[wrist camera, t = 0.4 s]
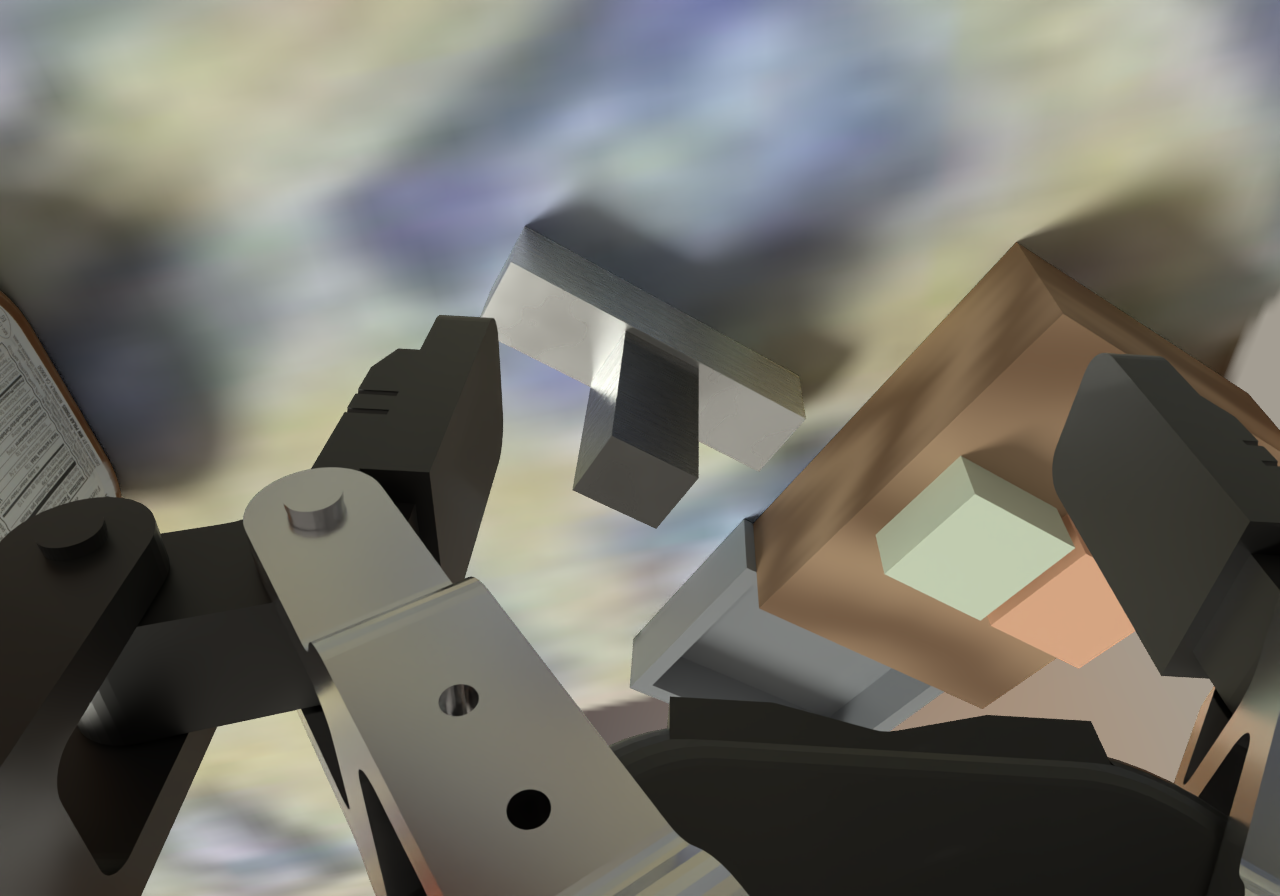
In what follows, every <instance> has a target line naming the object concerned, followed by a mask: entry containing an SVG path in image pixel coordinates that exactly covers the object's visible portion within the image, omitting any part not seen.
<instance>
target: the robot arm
mask: <svg viewBox="0 0 1280 896" xmlns="http://www.w3.org/2000/svg"><path fill="white" fill-rule="evenodd" d="M347 408H348V410H347V412H344V414H343V416H342V417H341V419H340V421H339V423H338V424H337V426H336V428H335V429H334V431H333V433H332V434H331V436H330V438H329V439H328V441H327V443H326V445H325V446H324V448H323V450H322V451H321V453H320V455H319V456H318V458H317V460H316V461H315V463H314V465H313V467H312V468H311V469H309V470H304V471H300V472H296V473H293V474H290V475H288V476H285V477H283V478H280V479H278V480H276V481H274V482H272V483H271V484H269V485H268V486H266V487H265V488H263V489H262V490H261V491H260V492H258V493H257V494H256V495H255V496H254V497H253V499H252V500H251V501H250V502H249V504H248V506H247V507H246V509H245V512H244V516H243V520H239V521H236V522H231V523H226V524H221V525H214V526H208V527H201V528H195V529H188V530H182V531H175V532H169V533H162V534H160V532H159V529H158V526H157V523H156V521H155V518H154V516H153V513H152V512H151V511H150V510H149V509H148V508H147V507H146V506H144V505H143V504H141V503H139V502H136V501H133V500H130V499H125V498H118V497H96V498H88V499H82V500H77V501H73V502H69V503H65V504H62V505H59V506H56V507H53V508H51V509H48V510H46V511H43V512H41V513H39V514H37V515H35V516H33V517H31V518H29V519H28V520H26V521H25V522H23V523H21V524H20V525H18V526H17V527H16V528H14V529H13V530H12V531H11V532H9V533H8V534H7V535H6V536H5V537H4V538H3V539H2V540H1V541H0V896H141V895H142V892H143V890H144V888H145V886H146V884H147V881H148V879H149V877H150V875H151V872H152V870H153V868H154V866H155V864H156V861H157V859H158V857H159V855H160V852H161V850H162V848H163V846H164V844H165V841H166V839H167V837H168V835H169V832H170V830H171V828H172V826H173V824H174V821H175V819H176V817H177V815H178V812H179V810H180V808H181V806H182V804H183V801H184V799H185V797H186V795H187V792H188V790H189V788H190V786H191V784H192V781H193V779H194V777H195V775H196V772H197V770H198V768H199V766H200V764H201V761H202V759H203V757H204V755H205V752H206V750H207V748H208V746H209V744H210V741H211V739H212V737H213V735H214V732H215V730H216V728H217V727H218V726H223V725H227V724H232V723H237V722H242V721H246V720H251V719H256V718H260V717H265V716H270V715H275V714H279V713H284V712H289V711H293V710H297V713H298V715H299V717H300V719H301V721H302V724H303V726H304V728H305V730H306V732H307V735H308V737H309V739H310V741H311V743H312V746H313V748H314V750H315V752H316V754H317V757H318V759H319V761H320V763H321V765H322V767H323V770H324V772H325V774H326V776H327V778H328V781H329V783H330V785H331V787H332V789H333V792H334V794H335V796H336V798H337V800H338V803H339V805H340V807H341V809H342V811H343V814H344V816H345V818H346V820H347V822H348V825H349V827H350V829H351V831H352V834H353V836H354V838H355V841H356V843H357V846H358V849H359V851H360V854H361V857H362V860H363V862H364V865H365V868H366V871H367V874H368V877H369V880H370V882H371V885H372V887H373V890H374V893H375V895H376V896H1280V466H1278V465H1277V463H1278V461H1277V460H1276V459H1275V458H1274V457H1273V456H1272V455H1271V454H1270V452H1269V451H1268V450H1267V449H1266V448H1265V447H1264V446H1258V442H1259V441H1258V440H1257V439H1256V438H1255V437H1254V436H1253V435H1252V434H1251V433H1250V432H1249V431H1248V430H1247V429H1246V428H1245V427H1244V425H1243V424H1242V423H1241V422H1240V421H1239V420H1238V419H1237V418H1236V417H1235V416H1233V415H1231V414H1230V413H1228V412H1227V411H1225V410H1223V409H1222V408H1220V407H1218V406H1217V405H1215V404H1213V403H1212V402H1210V401H1209V400H1207V399H1205V398H1204V397H1202V396H1200V395H1199V394H1198V393H1197V392H1196V390H1195V389H1194V388H1193V387H1192V386H1191V385H1190V384H1189V383H1188V382H1187V381H1186V380H1185V379H1184V378H1183V377H1182V376H1181V374H1180V373H1179V372H1178V371H1177V370H1176V369H1175V368H1174V367H1173V366H1172V365H1171V364H1170V363H1169V362H1168V361H1167V360H1166V359H1165V358H1163V357H1161V356H1151V355H1133V354H1115V353H1100V354H1098V355H1096V356H1095V357H1094V358H1093V359H1092V360H1091V362H1090V363H1089V365H1088V367H1087V369H1086V371H1085V373H1084V376H1083V378H1082V381H1081V384H1080V386H1079V389H1078V391H1077V394H1076V397H1075V399H1074V402H1073V404H1072V407H1071V410H1070V412H1069V415H1068V417H1067V420H1066V423H1065V425H1064V428H1063V430H1062V433H1061V436H1060V438H1059V441H1058V443H1057V446H1056V449H1055V452H1054V457H1053V464H1052V477H1053V484H1054V488H1055V491H1056V493H1057V495H1058V497H1059V499H1060V501H1061V502H1062V504H1063V506H1064V508H1065V509H1066V511H1067V513H1068V515H1069V516H1070V518H1071V520H1072V522H1073V523H1074V525H1075V527H1076V529H1077V530H1078V532H1079V534H1080V535H1081V537H1082V539H1083V541H1084V542H1085V544H1086V546H1087V548H1088V549H1089V551H1090V553H1091V555H1092V556H1093V558H1094V560H1095V562H1096V563H1097V565H1098V567H1099V568H1100V570H1101V572H1102V574H1103V575H1104V577H1105V579H1106V581H1107V582H1108V584H1109V586H1110V588H1111V589H1112V591H1113V593H1114V595H1115V596H1116V598H1117V600H1118V601H1119V603H1120V605H1121V607H1122V608H1123V610H1124V612H1125V614H1126V615H1127V617H1128V619H1129V621H1130V622H1131V624H1132V626H1133V628H1134V629H1135V631H1136V633H1137V634H1138V636H1139V638H1140V640H1141V641H1142V643H1143V645H1144V647H1145V648H1146V650H1147V652H1148V654H1149V655H1150V657H1151V659H1152V660H1153V662H1154V664H1155V666H1156V667H1157V669H1158V671H1159V672H1160V674H1161V676H1175V677H1191V678H1209V679H1210V680H1211V682H1212V683H1213V685H1214V687H1213V688H1212V690H1211V691H1210V693H1209V695H1208V696H1207V698H1206V700H1205V701H1204V703H1203V704H1202V706H1201V708H1200V710H1199V714H1198V716H1197V719H1196V722H1195V725H1194V727H1193V730H1192V733H1191V736H1190V739H1189V742H1188V744H1187V747H1186V750H1185V753H1184V755H1183V758H1182V761H1181V764H1180V767H1179V770H1178V773H1177V775H1176V778H1175V781H1174V783H1172V782H1170V781H1168V780H1166V779H1163V778H1161V777H1159V776H1157V775H1155V774H1153V773H1151V772H1148V771H1146V770H1144V769H1141V768H1138V767H1136V766H1133V765H1130V764H1128V763H1124V762H1122V761H1119V760H1116V759H1113V758H1109V757H1107V755H1106V753H1105V750H1104V748H1103V746H1102V744H1101V742H1100V740H1099V738H1098V735H1097V734H1096V731H1095V729H1094V727H1093V725H1092V723H1091V721H1080V720H1063V719H1045V718H1028V717H1011V716H995V715H994V716H993V715H985V716H979V717H973V718H968V719H962V720H956V721H950V722H945V723H939V724H934V725H927V726H922V727H916V728H910V729H905V730H899V731H890V732H887V731H878V730H873V729H869V728H866V727H862V726H858V725H855V724H851V723H847V722H843V721H840V720H836V719H832V718H829V717H825V716H821V715H818V714H814V713H810V712H806V711H803V710H799V709H795V708H792V707H788V706H784V705H780V704H777V703H773V702H756V701H739V700H722V699H705V698H688V697H671V696H670V701H669V712H668V722H667V729H662V730H656V731H651V732H646V733H643V734H640V735H636V736H633V737H630V738H626V739H624V740H621V741H619V742H617V743H614V744H612V745H610V746H608V745H607V743H606V742H605V741H604V740H603V738H602V737H601V736H600V734H599V733H598V732H597V730H596V729H595V728H594V727H593V725H592V724H591V723H590V722H589V720H588V719H587V718H586V716H585V715H584V714H583V712H582V711H581V710H580V708H579V707H578V706H577V704H576V703H575V702H574V701H573V699H572V698H571V697H570V695H569V694H568V693H567V691H566V690H565V689H564V688H563V686H562V685H561V684H560V682H559V681H558V680H557V678H556V677H555V676H554V675H553V673H552V672H551V671H550V669H549V668H548V667H547V665H546V664H545V663H544V662H543V660H542V659H541V658H540V656H539V655H538V654H537V652H536V651H535V650H534V649H533V647H532V646H531V645H530V643H529V642H528V641H527V639H526V638H525V637H524V636H523V634H522V633H521V632H520V630H519V629H518V628H517V626H516V625H515V624H514V623H513V621H512V620H511V619H510V617H509V616H508V615H507V613H506V612H505V611H504V610H503V608H502V607H501V606H500V604H499V603H498V602H497V600H496V599H495V598H494V597H493V595H492V594H491V593H490V591H489V590H488V589H487V588H486V587H485V585H484V584H483V583H482V582H480V581H479V580H478V579H476V578H475V577H468V578H465V575H466V572H467V568H468V565H469V561H470V558H471V555H472V551H473V548H474V545H475V541H476V538H477V534H478V531H479V528H480V524H481V521H482V517H483V514H484V511H485V507H486V504H487V500H488V497H489V494H490V490H491V487H492V483H493V480H494V477H495V473H496V470H497V466H498V463H499V459H500V454H501V447H502V438H503V408H502V391H501V374H500V357H499V340H498V329H497V324H496V321H495V319H494V318H486V317H467V316H449V315H439V316H438V317H437V318H436V320H435V322H434V324H433V326H432V328H431V330H430V332H429V334H428V336H427V338H426V339H425V341H424V343H423V345H422V347H421V349H420V350H415V349H397V350H395V351H394V352H393V353H391V354H390V355H388V356H387V357H385V358H384V359H382V360H381V361H379V362H378V363H376V364H375V365H374V366H372V367H371V368H370V370H369V372H368V373H367V375H366V377H365V379H364V380H363V382H362V384H361V385H360V387H359V389H358V394H355V395H354V397H353V399H352V401H351V402H350V404H349V406H348V407H347ZM464 578H465V579H464Z"/></svg>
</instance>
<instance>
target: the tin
mask: <svg viewBox="0 0 1280 896" xmlns="http://www.w3.org/2000/svg"><path fill="white" fill-rule="evenodd" d="M96 497H118V498H122V497H121V492H120V488H119V484H118V480H117V477H116V474H115V472H114V470H113V468H112V465H111V463H110V461H109V459H108V458H107V456H106V454H105V453H104V451H103V449H102V447H101V446H100V444H99V442H98V441H97V439H96V437H95V436H94V434H93V432H92V430H91V429H90V427H89V425H88V423H87V422H86V420H85V418H84V416H83V415H82V413H81V411H80V410H79V408H78V406H77V404H76V403H75V401H74V399H73V398H72V396H71V394H70V392H69V391H68V389H67V387H66V386H65V384H64V382H63V380H62V379H61V377H60V375H59V374H58V372H57V370H56V368H55V367H54V365H53V363H52V362H51V360H50V358H49V356H48V355H47V353H46V351H45V350H44V348H43V346H42V344H41V343H40V341H39V339H38V338H37V336H36V334H35V332H34V331H33V329H32V327H31V326H30V324H29V323H28V321H27V320H26V318H25V317H24V315H23V314H22V313H21V311H20V310H19V309H18V307H17V306H16V305H15V304H14V303H13V302H12V301H11V300H10V299H9V298H8V297H7V296H6V295H5V294H4V293H2V292H1V291H0V541H1V540H2V539H3V538H4V537H5V536H6V535H7V534H8V533H9V532H11V531H12V530H13V529H14V528H16V527H17V526H18V525H20V524H21V523H23V522H25V521H26V520H28V519H29V518H31V517H33V516H35V515H37V514H39V513H41V512H43V511H46V510H48V509H51V508H53V507H56V506H59V505H62V504H65V503H69V502H73V501H77V500H82V499H88V498H96Z"/></svg>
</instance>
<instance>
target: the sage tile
mask: <svg viewBox="0 0 1280 896" xmlns="http://www.w3.org/2000/svg"><path fill="white" fill-rule="evenodd" d="M876 539H877V544H878V548H879V552H880V557H881V561H882V566H883V570H884V574H885V575H887V576H889V577H891V578H893V579H895V580H898V581H900V582H902V583H904V584H906V585H908V586H910V587H912V588H914V589H916V590H918V591H920V592H922V593H924V594H926V595H928V596H930V597H932V598H935V599H937V600H939V601H941V602H943V603H945V604H947V605H949V606H951V607H953V608H955V609H957V610H959V611H961V612H963V613H965V614H967V615H970V616H972V617H974V618H976V619H978V620H980V621H981V620H982V619H983V618H985V617H986V616H987V615H989V614H990V613H991V612H992V611H994V610H995V609H996V608H998V607H999V606H1000V605H1002V604H1003V603H1004V602H1005V601H1007V600H1008V599H1009V598H1011V597H1012V596H1013V595H1015V594H1016V593H1017V592H1019V591H1020V590H1021V589H1022V588H1024V587H1025V586H1026V585H1028V584H1029V583H1030V582H1032V581H1033V580H1034V579H1036V578H1037V577H1038V576H1039V575H1041V574H1042V573H1043V572H1045V571H1046V570H1047V569H1049V568H1050V567H1051V566H1052V565H1054V564H1055V563H1056V562H1058V561H1059V560H1060V559H1062V558H1063V557H1064V556H1066V555H1067V554H1068V553H1069V552H1071V551H1072V550H1073V549H1075V546H1074V544H1073V542H1072V540H1071V538H1070V536H1069V533H1068V531H1067V529H1066V527H1065V525H1064V523H1063V521H1062V519H1061V517H1060V514H1059V512H1058V510H1057V508H1055V507H1053V506H1051V505H1050V504H1048V503H1046V502H1044V501H1042V500H1041V499H1039V498H1037V497H1035V496H1033V495H1031V494H1030V493H1028V492H1026V491H1024V490H1022V489H1021V488H1019V487H1017V486H1015V485H1013V484H1011V483H1010V482H1008V481H1006V480H1004V479H1002V478H1001V477H999V476H997V475H995V474H993V473H991V472H990V471H988V470H986V469H984V468H982V467H981V466H979V465H977V464H975V463H973V462H971V461H970V460H968V459H966V458H964V457H962V456H960V457H959V458H958V459H957V460H955V461H954V462H953V463H952V464H951V465H950V466H949V467H948V468H947V469H946V470H945V471H944V472H943V473H941V474H940V475H939V476H938V477H937V478H936V479H935V480H934V481H933V482H932V483H931V484H930V485H929V486H928V487H926V488H925V489H924V490H923V491H922V492H921V493H920V494H919V495H918V496H917V497H916V498H915V499H914V500H912V501H911V502H910V503H909V504H908V505H907V506H906V507H905V508H904V509H903V510H902V511H901V512H900V513H898V514H897V515H896V516H895V517H894V518H893V519H892V520H891V521H890V522H889V523H888V524H887V525H886V526H884V527H883V528H882V529H881V530H880V531H879V532H878V533H877V534H876Z"/></svg>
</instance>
